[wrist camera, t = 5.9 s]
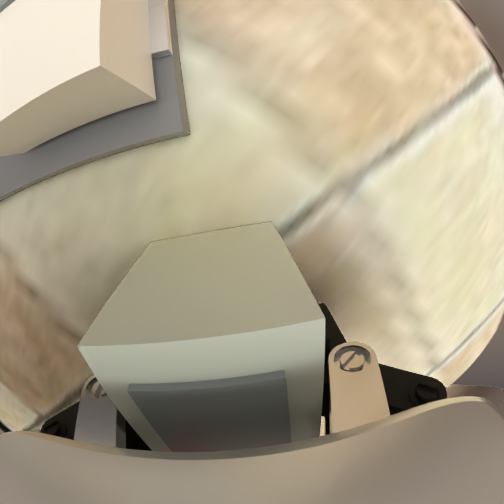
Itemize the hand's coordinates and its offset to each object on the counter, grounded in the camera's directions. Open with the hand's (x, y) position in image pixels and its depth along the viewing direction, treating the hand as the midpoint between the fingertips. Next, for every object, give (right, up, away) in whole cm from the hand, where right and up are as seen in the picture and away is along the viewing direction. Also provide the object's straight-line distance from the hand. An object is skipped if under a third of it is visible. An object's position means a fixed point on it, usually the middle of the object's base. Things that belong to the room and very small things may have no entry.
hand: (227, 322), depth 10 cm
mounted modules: (-13, +9, -6) cm, 17 cm away
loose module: (0, 0, +1) cm, 1 cm away
